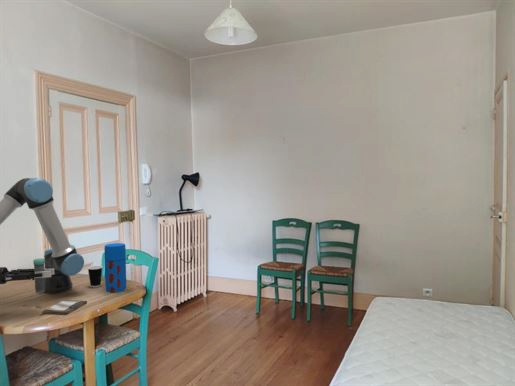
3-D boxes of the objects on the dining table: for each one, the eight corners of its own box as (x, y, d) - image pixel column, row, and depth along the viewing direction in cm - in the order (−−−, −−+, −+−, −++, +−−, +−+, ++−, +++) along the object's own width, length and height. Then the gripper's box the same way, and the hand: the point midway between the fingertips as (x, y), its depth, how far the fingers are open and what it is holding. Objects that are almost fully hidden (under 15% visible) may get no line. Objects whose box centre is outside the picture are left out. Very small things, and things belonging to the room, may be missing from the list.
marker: (39, 290, 178) (37, 258, 178) (47, 290, 178) (46, 258, 177) (32, 293, 174) (31, 260, 173) (41, 293, 174) (39, 260, 173)
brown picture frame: (64, 302, 190) (64, 297, 190) (86, 303, 189) (86, 298, 189) (42, 313, 175) (42, 309, 175) (66, 314, 173) (66, 310, 173)
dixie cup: (88, 285, 220) (87, 266, 220) (103, 283, 223) (102, 265, 223) (87, 289, 213) (87, 269, 213) (103, 287, 216) (102, 268, 216)
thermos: (112, 286, 218) (111, 242, 216) (130, 287, 215) (129, 243, 214) (101, 292, 207) (100, 246, 206) (119, 293, 205) (118, 246, 204)
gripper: (4, 279, 180) (58, 276, 185) (-13, 289, 164) (46, 285, 169) (3, 263, 180) (57, 260, 185) (-14, 272, 163) (46, 269, 168)
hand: (52, 272), depth 177 cm, fingers closed on marker, 4 cm apart
